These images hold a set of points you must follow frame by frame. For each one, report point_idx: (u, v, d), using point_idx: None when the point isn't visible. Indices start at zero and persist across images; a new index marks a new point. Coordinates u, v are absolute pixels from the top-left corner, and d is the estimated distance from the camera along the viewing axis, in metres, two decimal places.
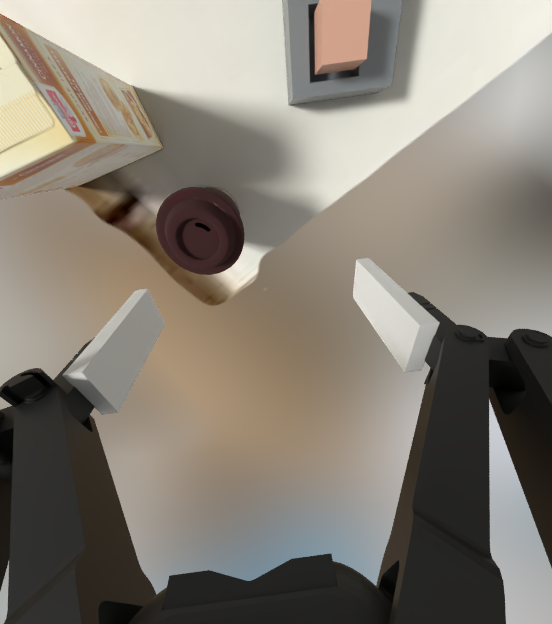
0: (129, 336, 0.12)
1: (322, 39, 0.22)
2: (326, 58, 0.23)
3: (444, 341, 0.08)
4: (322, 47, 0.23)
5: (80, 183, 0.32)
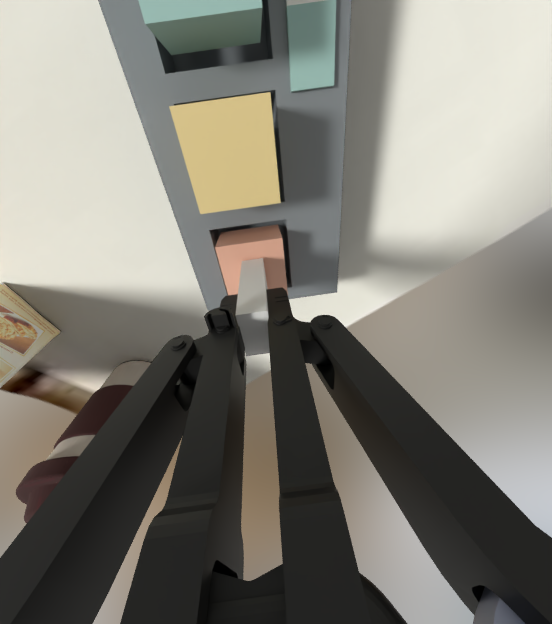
0: None
1: None
2: None
3: (268, 331, 0.10)
4: (227, 289, 0.17)
5: None
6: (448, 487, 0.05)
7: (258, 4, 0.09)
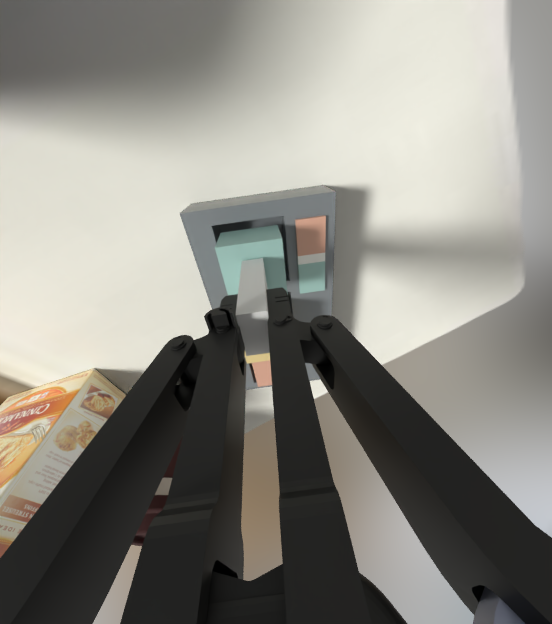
0: None
1: (255, 376, 0.27)
2: (260, 384, 0.28)
3: (268, 332, 0.10)
4: None
5: None
6: (448, 487, 0.05)
7: None
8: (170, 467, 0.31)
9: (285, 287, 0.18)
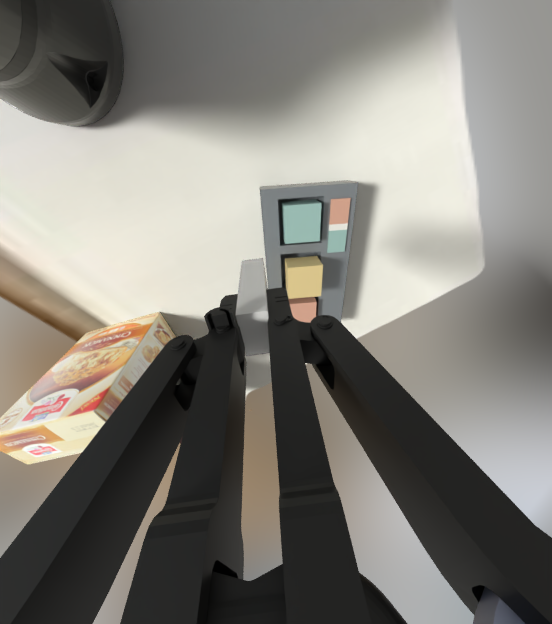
0: None
1: None
2: None
3: (268, 331, 0.10)
4: None
5: None
6: (448, 487, 0.05)
7: (318, 240, 0.30)
8: None
9: (319, 235, 0.30)
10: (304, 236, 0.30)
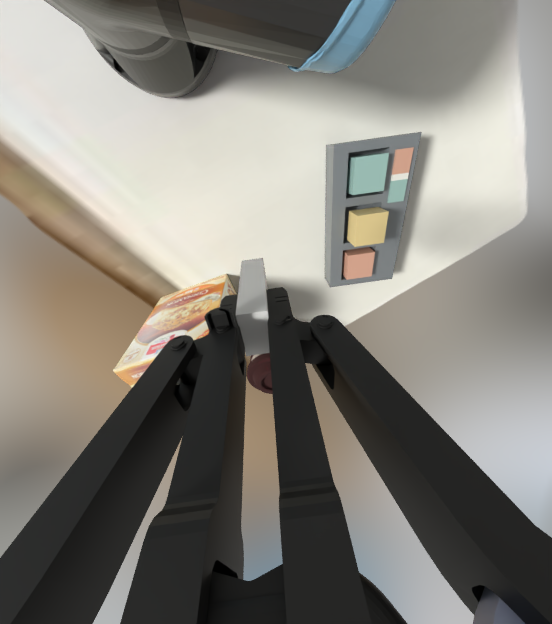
0: None
1: (347, 270, 0.41)
2: (349, 277, 0.41)
3: (268, 332, 0.10)
4: (347, 273, 0.41)
5: None
6: (448, 487, 0.05)
7: (382, 190, 0.33)
8: None
9: (383, 184, 0.33)
10: (370, 187, 0.33)
